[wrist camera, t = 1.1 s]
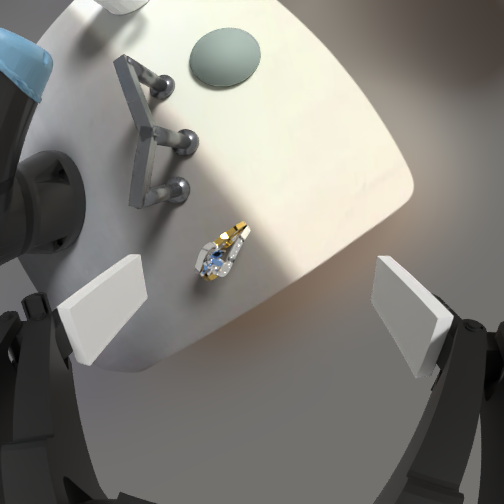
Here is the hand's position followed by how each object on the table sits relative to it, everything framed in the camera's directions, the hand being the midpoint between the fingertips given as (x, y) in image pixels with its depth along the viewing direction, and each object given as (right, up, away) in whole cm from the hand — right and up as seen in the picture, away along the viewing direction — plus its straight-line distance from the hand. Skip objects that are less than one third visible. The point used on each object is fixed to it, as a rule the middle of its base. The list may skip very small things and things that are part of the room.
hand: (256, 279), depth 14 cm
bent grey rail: (-10, +15, +14) cm, 22 cm away
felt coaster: (-3, +24, +10) cm, 26 cm away
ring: (-3, +3, +17) cm, 17 cm away
